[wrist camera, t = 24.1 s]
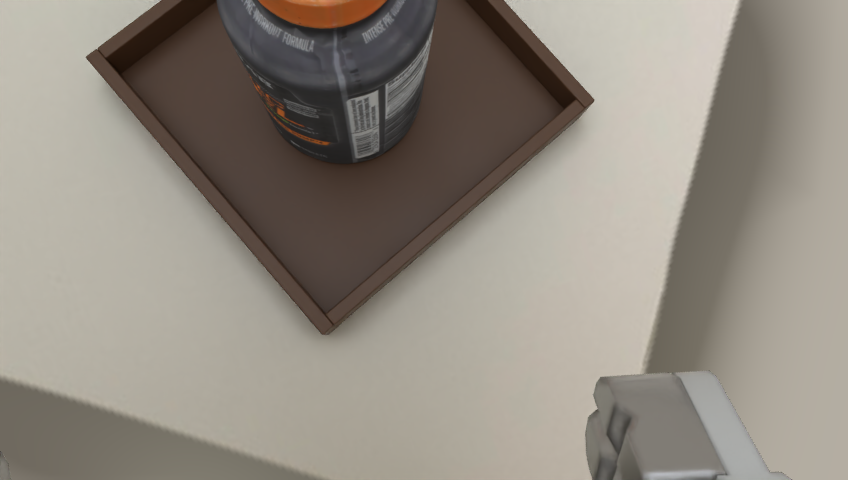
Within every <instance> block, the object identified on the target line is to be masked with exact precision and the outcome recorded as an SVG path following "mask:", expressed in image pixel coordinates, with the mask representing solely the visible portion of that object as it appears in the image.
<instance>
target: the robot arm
mask: <svg viewBox="0 0 848 480" xmlns="http://www.w3.org/2000/svg"><path fill="white" fill-rule="evenodd" d="M593 397H594V399H595V402H596V405H597V408H598V409H597V410H596V411H595V412H593V413H592V414H591V415H590V416H589V417H588V421H587V427H586V432H585V437H586V455H587V460H588V465H589V470H590V473H591V476H592V480H792V479H791V478H789V477H788V476H786V475H785V474H784V473H782V472H770V471H769V469H768V467H767V466H766V464H765V462H764V460H763V458H762V457H761V455H760V453H759V451H758V450H757V448H756V446H755V444H754V442H753V441H752V439H751V437H750V435H749V434H748V432H747V430H746V428H745V426H744V425H743V423H742V421H741V419H740V417H739V416H738V414H737V412H736V410H735V408H734V407H733V405H732V403H731V401H730V399H729V398H728V396H727V394H726V392H725V391H724V389H723V387H722V385H721V383H720V382H719V380H718V378H717V376H716V375H714V374H713V373H712V372H711V371H694V372H677V373H669V372H667V373H653V374H638V375H623V376H609V377H600V379H599V380H598V381H597V383H596V386H595V390H594V394H593ZM0 480H11V475H10V470H9V465H8V462H7V461H6V459H5V457H4V455H3V453H2V452H1V451H0Z"/></svg>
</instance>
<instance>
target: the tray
mask: <svg viewBox="0 0 848 480" xmlns="http://www.w3.org/2000/svg"><path fill="white" fill-rule="evenodd" d="M86 58H87V60H88V61H89V62H90V63H91V64H92V65H93V67H94V68H95V69H96V70H97V71H98V72H99V74H100V75H101V76H102V77H103V78H104V79H105V81H106V82H107V83H108V84H109V85H110V87H111V88H112V89H113V90H114V91H115V92H116V94H117V95H118V96H119V97H120V98H121V99H122V101H123V102H124V103H125V104H126V105H127V106H128V108H129V109H130V110H131V111H132V112H133V113H134V115H135V116H136V117H137V118H138V119H139V120H140V122H141V123H142V124H143V125H144V126H145V128H146V129H147V130H148V131H149V132H150V133H151V135H152V136H153V137H154V138H155V139H156V140H157V142H158V143H159V144H160V145H161V146H162V147H163V149H164V150H165V151H166V152H167V153H168V154H169V156H170V157H171V158H172V159H173V160H174V161H175V163H176V164H177V165H178V166H179V167H180V168H181V170H182V171H183V172H184V173H185V174H186V176H187V177H188V178H189V179H190V180H191V181H192V183H193V184H194V185H195V186H196V187H197V188H198V190H199V191H200V192H201V193H202V194H203V195H204V197H205V198H206V199H207V200H208V201H209V202H210V204H211V205H212V206H213V207H214V208H215V209H216V211H217V212H218V213H219V214H220V215H221V217H222V218H223V219H224V220H225V221H226V222H227V224H228V225H229V226H230V227H231V228H232V229H233V231H234V232H235V233H236V234H237V235H238V236H239V238H240V239H241V240H242V241H243V242H244V243H245V245H246V246H247V247H248V248H249V249H250V250H251V252H252V253H253V254H254V255H255V256H256V257H257V259H258V260H259V261H260V262H261V263H262V265H263V266H264V267H265V268H266V269H267V270H268V272H269V273H270V274H271V275H272V276H273V277H274V279H275V280H276V281H277V282H278V283H279V284H280V286H281V287H282V288H283V289H284V290H285V291H286V293H287V294H288V295H289V296H290V297H291V298H292V300H293V301H294V302H295V303H296V304H297V306H298V307H299V308H300V309H301V310H302V311H303V313H304V314H305V315H306V316H307V317H308V318H309V320H310V321H311V322H312V323H313V324H314V325H315V327H316V328H317V329H318V330H319V331H320V332H321V334H323V335H328V334H330V333H331V332H332V331H333V330H334V329H335V328H336V327H338V326H339V325H340V324H341V323H342V322H343V321H345V320H346V319H347V318H348V317H349V316H350V315H352V314H353V313H354V312H355V311H356V310H357V309H358V308H360V307H361V306H362V305H363V304H364V303H365V302H367V301H368V300H369V299H370V298H371V297H372V296H374V295H375V294H376V293H377V292H378V291H379V290H380V289H382V288H383V287H384V286H385V285H386V284H387V283H389V282H390V281H391V280H392V279H393V278H394V277H396V276H397V275H398V274H399V273H400V272H401V271H402V270H404V269H405V268H406V267H407V266H408V265H409V264H411V263H412V262H413V261H414V260H415V259H416V258H417V257H419V256H420V255H421V254H422V253H423V252H424V251H426V250H427V249H428V248H429V247H430V246H431V245H433V244H434V243H435V242H436V241H437V240H438V239H439V238H441V237H442V236H443V235H444V234H445V233H446V232H448V231H449V230H450V229H451V228H452V227H453V226H455V225H456V224H457V223H458V222H459V221H460V220H461V219H463V218H464V217H465V216H466V215H467V214H468V213H470V212H471V211H472V210H473V209H474V208H475V207H477V206H478V205H479V204H480V203H481V202H482V201H483V200H485V199H486V198H487V197H488V196H489V195H490V194H492V193H493V192H494V191H495V190H496V189H497V188H499V187H500V186H501V185H502V184H503V183H504V182H505V181H507V180H508V179H509V178H510V177H511V176H512V175H514V174H515V173H516V172H517V171H518V170H519V169H520V168H522V167H523V166H524V165H525V164H526V163H527V162H529V161H530V160H531V159H532V158H533V157H534V156H536V155H537V154H538V153H539V152H540V151H541V150H542V149H544V148H545V147H546V146H547V145H548V144H549V143H551V142H552V141H553V140H554V139H555V138H556V137H558V136H559V135H560V134H561V133H562V132H563V131H564V130H566V129H567V128H568V127H569V126H570V125H571V124H573V123H574V122H575V121H576V120H577V119H578V118H580V116H581V115H582V114H583V113H584V112H585V111H586V110H587V109H588V107H589V106H590V105H591V104H592V103H593V102H594V99H593V98H592V96H591V95H590V94H589V93H588V92H587V91H586V90H585V89H584V88H583V87H582V86H581V84H580V83H579V82H578V81H577V80H576V79H575V78H574V77H573V76H572V75H571V74H570V72H569V71H568V70H567V69H566V68H565V67H564V66H563V65H562V64H561V63H560V61H559V60H558V59H557V58H556V57H555V56H554V55H553V54H552V53H551V52H550V51H549V49H548V48H547V47H546V46H545V45H544V44H543V43H542V42H541V41H540V40H539V39H538V37H537V36H536V35H535V34H534V33H533V32H532V31H531V30H530V29H529V28H528V26H527V25H526V24H525V23H524V22H523V21H522V20H521V19H520V18H519V17H518V16H517V14H516V13H515V12H514V11H513V10H512V9H511V8H510V7H509V6H508V5H507V4H506V2H505V1H504V0H438V2H437V9H436V16H435V20H434V26H433V32H432V39H431V45H430V50H429V56H428V61H427V67H426V73H425V79H424V85H423V92H422V98H421V102H420V106H419V110H418V113H417V115H416V118H415V120H414V122H413V124H412V126H411V127H410V129H409V131H408V132H407V134H406V135H405V136H404V137H403V138H402V139H401V140H400V141H399V142H398V143H397V144H396V145H395V146H394V147H392V148H391V149H390V150H388V151H387V152H385V153H383V154H382V155H380V156H377V157H375V158H373V159H370V160H367V161H363V162H359V163H350V164H338V163H331V162H325V161H321V160H319V159H317V158H314V157H311V156H309V155H306V154H304V153H302V152H300V151H299V150H297V149H296V148H295V147H293V146H292V145H291V144H290V143H289V142H287V141H286V140H285V139H284V138H283V136H282V135H281V134H280V133H279V132H278V130H277V129H276V128H275V126H274V124H273V122H272V120H271V118H270V116H269V114H268V112H267V110H266V108H265V106H264V104H263V102H262V100H261V98H260V97H259V95H258V93H257V91H256V89H255V87H254V85H253V83H252V81H251V78H250V76H249V75H248V73H247V71H246V69H245V67H244V66H243V63H242V62H241V60H240V58H239V56H238V55H237V53H236V50H235V48H234V47H233V44H232V42H231V40H230V38H229V36H228V34H227V32H226V30H225V28H224V26H223V23H222V20H221V18H220V15H219V11H218V7H217V1H216V0H161V1H160V2H159V3H157V4H156V5H155V6H153V7H152V8H151V9H149V10H148V11H147V12H145V13H144V14H143V15H141V16H140V17H139V18H137V19H136V20H135V21H133V22H132V23H131V24H129V25H128V26H127V27H125V28H124V29H123V30H121V31H120V32H118V33H117V34H116V35H114V36H113V37H112V38H110V39H109V40H108V41H106V42H105V43H104V44H102V45H101V46H100V47H98V50H97V49H96V50H94V51H93V52H92V53H90V54H89V55H88V56H86Z"/></svg>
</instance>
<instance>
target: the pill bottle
mask: <svg viewBox="0 0 848 480" xmlns="http://www.w3.org/2000/svg"><path fill="white" fill-rule="evenodd" d="M216 1H217V7H218V11H219V15H220V18H221V20H222V23H223V26H224V28H225V30H226V32H227V34H228V36H229V38H230V40H231V42H232V44H233V47H234V48H235V50H236V53H237V55H238V56H239V58H240V60H241V62H242V63H243V66H244V67H245V69H246V71H247V73H248V75H249V76H250V78H251V81H252V83H253V85H254V87H255V89H256V91H257V93H258V95H259V97H260V98H261V100H262V102H263V104H264V106H265V108H266V110H267V112H268V114H269V116H270V118H271V120H272V122H273V124H274V126H275V128H276V129H277V130H278V132H279V133H280V134H281V135H282V136H283V138H284V139H285V140H286V141H287V142H289V143H290V144H291V145H292V146H293V147H295V148H296V149H297V150H299V151H300V152H302V153H304V154H306V155H309V156H311V157H314V158H317V159H319V160H321V161H325V162H331V163H338V164H350V163H359V162H363V161H367V160H370V159H373V158H375V157H377V156H380V155H382V154H383V153H385V152H387V151H388V150H390V149H391V148H392V147H394V146H395V145H396V144H397V143H398V142H399V141H400V140H401V139H402V138H403V137H404V136H405V135H406V134H407V132H408V131H409V129H410V127H411V126H412V124H413V122H414V120H415V118H416V115H417V113H418V110H419V106H420V102H421V98H422V92H423V85H424V79H425V73H426V67H427V61H428V56H429V50H430V45H431V39H432V32H433V26H434V20H435V16H436V9H437V2H438V0H216Z"/></svg>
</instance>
